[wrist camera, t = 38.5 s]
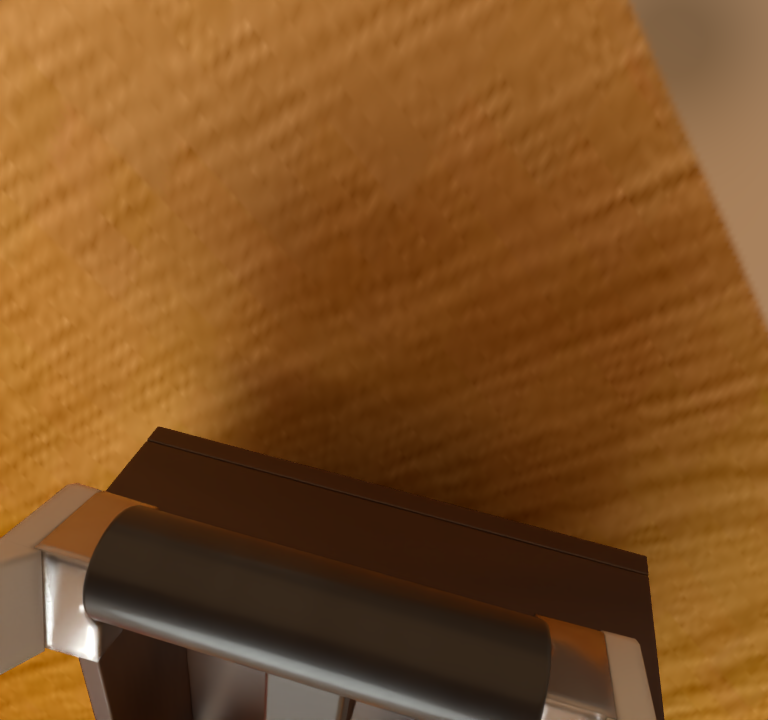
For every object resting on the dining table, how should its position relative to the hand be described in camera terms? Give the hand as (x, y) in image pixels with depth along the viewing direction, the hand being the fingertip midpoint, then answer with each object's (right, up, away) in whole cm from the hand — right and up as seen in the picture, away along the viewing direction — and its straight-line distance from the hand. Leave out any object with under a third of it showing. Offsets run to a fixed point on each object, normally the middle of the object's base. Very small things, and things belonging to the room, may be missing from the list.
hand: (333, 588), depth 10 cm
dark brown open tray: (0, -4, +10) cm, 11 cm away
